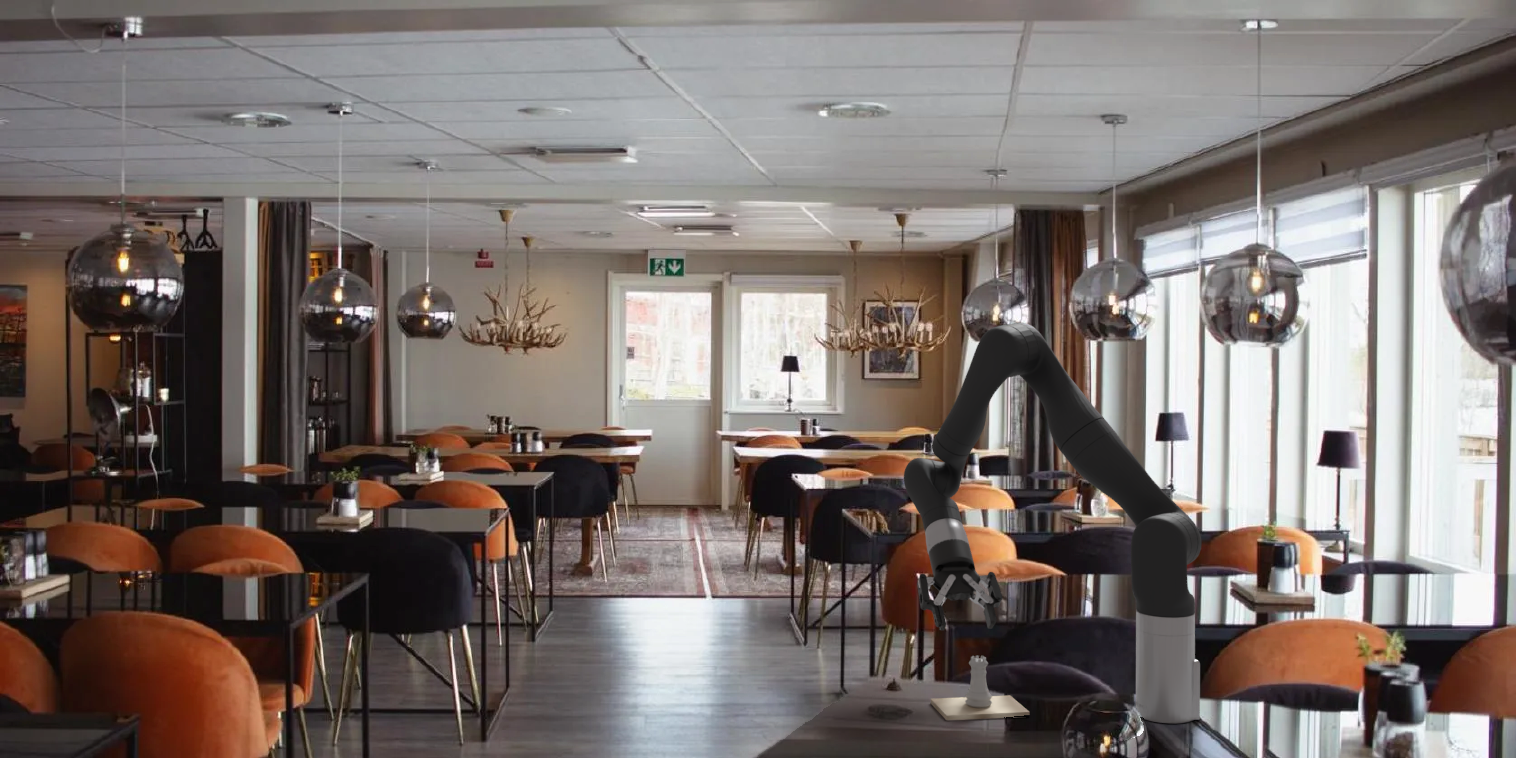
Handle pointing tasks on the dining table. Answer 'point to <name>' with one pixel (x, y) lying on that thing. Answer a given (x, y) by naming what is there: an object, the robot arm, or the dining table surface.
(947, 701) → the birch placemat
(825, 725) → the dining table surface
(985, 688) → the rook chess piece
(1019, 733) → the dining table surface
